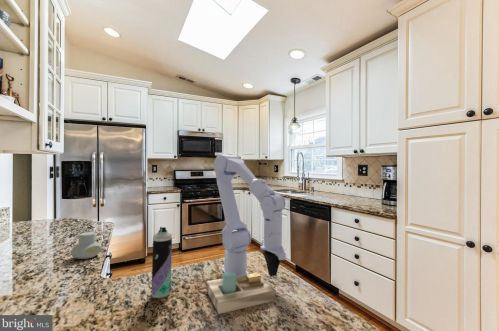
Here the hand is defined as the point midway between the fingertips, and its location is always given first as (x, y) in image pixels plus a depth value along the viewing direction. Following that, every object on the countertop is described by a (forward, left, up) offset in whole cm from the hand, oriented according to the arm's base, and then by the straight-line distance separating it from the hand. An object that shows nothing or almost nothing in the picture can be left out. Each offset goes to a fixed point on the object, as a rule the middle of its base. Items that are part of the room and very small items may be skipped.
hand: (272, 275), depth 74 cm
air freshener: (-56, -60, -5) cm, 82 cm away
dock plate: (-1, -11, -4) cm, 12 cm away
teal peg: (0, -15, -4) cm, 15 cm away
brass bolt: (0, -7, -1) cm, 7 cm away
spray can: (-11, -33, -5) cm, 35 cm away
